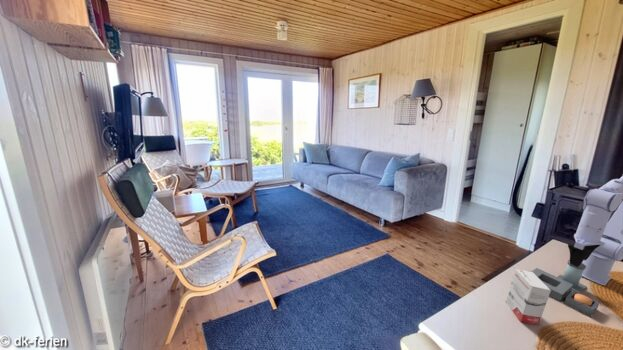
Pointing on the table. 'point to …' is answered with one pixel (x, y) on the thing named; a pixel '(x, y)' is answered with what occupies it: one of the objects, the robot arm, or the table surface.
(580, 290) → the slate mat
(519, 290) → the ink box
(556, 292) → the socket block
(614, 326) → the table surface
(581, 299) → the release button
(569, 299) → the button housing
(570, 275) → the cylinder
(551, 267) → the table surface
